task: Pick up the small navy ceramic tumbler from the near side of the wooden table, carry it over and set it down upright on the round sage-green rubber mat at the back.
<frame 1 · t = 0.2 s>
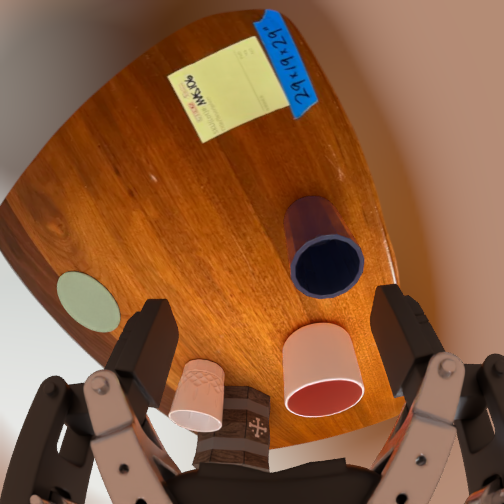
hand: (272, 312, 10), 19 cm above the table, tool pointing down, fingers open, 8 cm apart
mug: (245, 408, 50), on the table
cup: (316, 341, 39), on the table
mat: (87, 303, 37), on the table
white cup: (204, 369, 43), on the table
tumbler: (311, 222, 29), on the table
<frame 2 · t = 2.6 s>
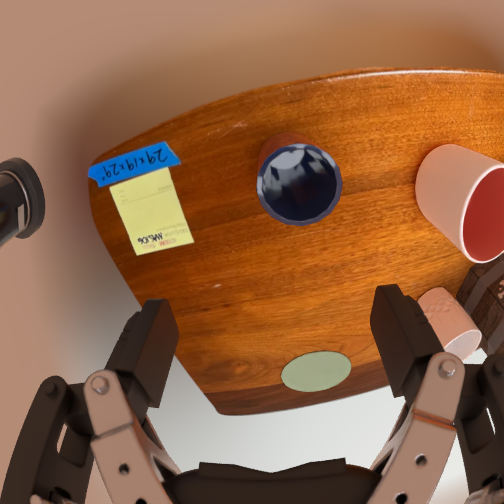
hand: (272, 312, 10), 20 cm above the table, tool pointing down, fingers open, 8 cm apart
mug: (495, 279, 33), on the table
cup: (443, 182, 26), on the table
mat: (316, 372, 43), on the table
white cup: (430, 303, 35), on the table
tumbler: (288, 161, 27), on the table
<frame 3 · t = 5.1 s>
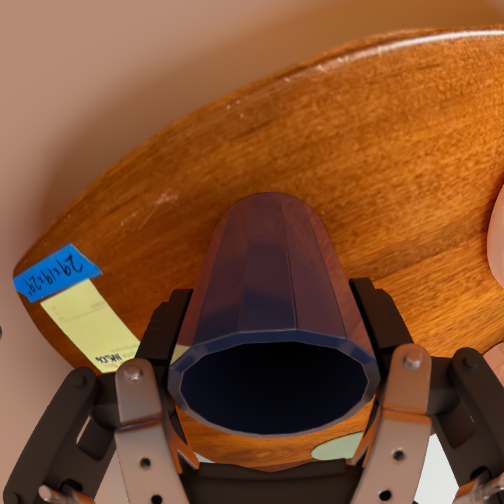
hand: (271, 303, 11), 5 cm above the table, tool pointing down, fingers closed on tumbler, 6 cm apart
mat: (352, 446, 30), on the table
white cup: (488, 359, 21), on the table
tumbler: (270, 246, 15), on the table, touching gripper
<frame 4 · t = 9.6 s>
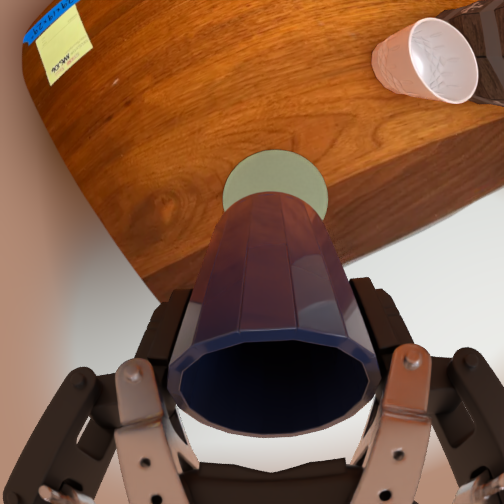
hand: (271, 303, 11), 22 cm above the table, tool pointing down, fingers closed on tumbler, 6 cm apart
mug: (477, 55, 19), on the table
mat: (275, 201, 31), on the table
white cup: (396, 67, 22), on the table
tumbler: (270, 245, 15), point 17 cm above the table, touching gripper
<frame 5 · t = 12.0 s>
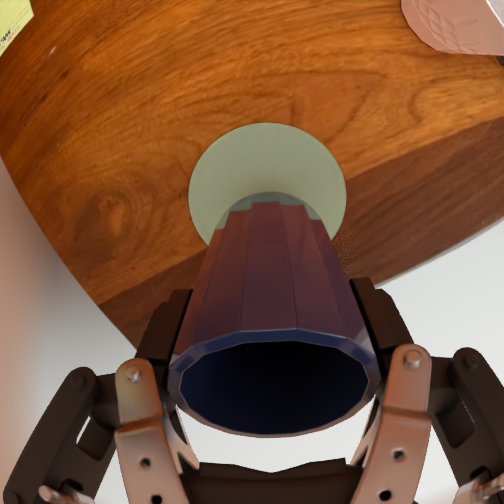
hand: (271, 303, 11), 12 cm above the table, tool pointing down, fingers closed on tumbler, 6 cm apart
mat: (267, 202, 21), on the table
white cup: (433, 18, 12), on the table
tumbler: (270, 245, 15), point 7 cm above the table, touching gripper
when the fingers open (5 cm above the table, at t = 14.1 s): tumbler stays where it is, resting on mat.
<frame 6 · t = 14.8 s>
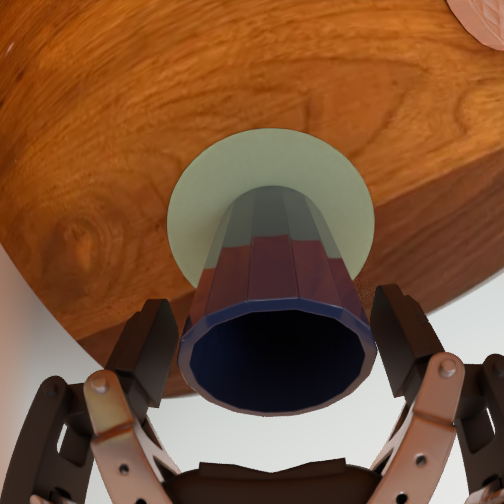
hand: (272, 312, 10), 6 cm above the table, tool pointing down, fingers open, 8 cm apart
mat: (271, 236, 16), on the table
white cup: (475, 5, 7), on the table
tumbler: (272, 237, 16), resting on mat
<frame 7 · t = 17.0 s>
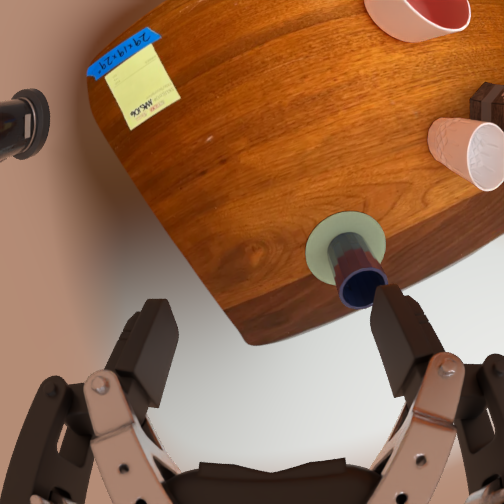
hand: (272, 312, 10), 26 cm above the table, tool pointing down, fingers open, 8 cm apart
cup: (396, 11, 21), on the table
mat: (346, 250, 38), on the table
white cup: (444, 140, 29), on the table
tumbler: (347, 250, 38), resting on mat
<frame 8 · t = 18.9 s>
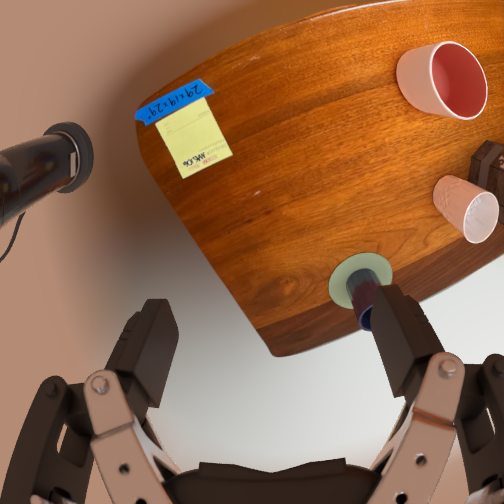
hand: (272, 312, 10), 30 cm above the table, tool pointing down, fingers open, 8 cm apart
mug: (499, 170, 33), on the table
cup: (421, 80, 29), on the table
mat: (361, 282, 46), on the table
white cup: (446, 193, 37), on the table
tumbler: (361, 282, 46), resting on mat
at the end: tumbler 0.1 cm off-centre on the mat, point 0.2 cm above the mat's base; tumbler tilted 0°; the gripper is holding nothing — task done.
